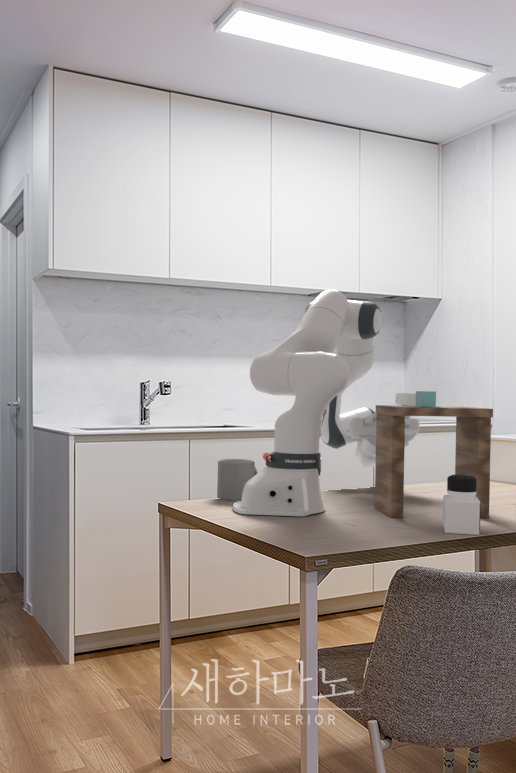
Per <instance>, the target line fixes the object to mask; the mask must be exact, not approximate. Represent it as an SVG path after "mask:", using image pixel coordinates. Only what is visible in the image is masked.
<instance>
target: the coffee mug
mask: <svg viewBox="0 0 516 773" xmlns="http://www.w3.org/2000/svg"><path fill="white" fill-rule="evenodd" d="M258 473H259V472H258V469H257V467H256V466H255V460H254V459H248V458H247V459H246V458H221V459H218V460H217V488H216V489H217V490H216V491H217V492H216V493H217V495H216V496H217V499H219V500H223V501H235V502H238V501H241V499H242V493H243V489H244V486H245V484H246V482H247V481H248V480H250V479H251V478H252V477H254V476H255V475H256V474H258Z"/></svg>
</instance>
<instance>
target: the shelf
mask: <svg viewBox="0 0 516 773" xmlns="http://www.w3.org/2000/svg"><path fill="white" fill-rule="evenodd" d="M375 413H376V414H377V417H376V465H375V466H374V467H375V470H374V471H375V476H374V477H375V478H374V479H375V480H374V508H375V509H377V510H378V511H379V512H380V513H382V514H384V515H386V517H388V518H391V519H404V496H405V495H404V494H405V492H404V490H405V489H404V488H405V486H404V485H405V448H406V447H405V416H409V417H446V418H447V417H452V418H453V417H454V418H456V419H455V458H454V459H455V465H454V466H455V468H454V475H470V476H473V477H475V478H476V479H477V488H476V495H475V496H476V497H477V498H478V499H479V501H480V503H481V506H480V519H490V498H491V497H490V489H491V488H490V487H491V486H490V485H491V447H492V446H491V445H492V444H491V442H492V441H491V438H492V437H491V436H492V432H491V431H492V418H494V408H488V407H485V408H484V407H471V406H441V405H440V406H438V405H436V407H422V406H410V405H389V404H388V405H382V404H381V405H379V404H377V405H375Z"/></svg>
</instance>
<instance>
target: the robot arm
mask: <svg viewBox="0 0 516 773" xmlns="http://www.w3.org/2000/svg"><path fill="white" fill-rule="evenodd" d="M382 319H383V318H382V311H381V309H380V307H379V306H378V304H377V303H375V302H372V301H368V300H365V301H361V300H354V299H353V300H351V299H348V298H347V296H346V295H345V294H344V293H343V292H340V291H338V290H335V289H327V290H324V291H322V292H320V293H319V295H317V296H316V297H315V298H314V300H313V301H311V302H310V303H308V304H307V305H306V308H305V311H304V315H303V316H302V319H301V320H300V321H299V324H298V325H297V326H296V328H295V330H294V331H293V332H292V333H291V334H290V335H289V336H288V337H286V338H285V339H284V340H283V341H282V342H281V343H279V344H278V345H277V346H275V347H273V348H272V349H269V350H268V351H266V352H263V353H260V354H258V355H257V356H255V358H254V359H253V360H252V362H251V365H250V367H249V368H250V369H249V379H250V382H251V384H252V386H253V388H254V389H255V390H256V391H257V392H261V393H265V394H268V395H272V396H287V397H288V396H292V397H294V396H295V400H294V401H293V402H294V403H293V405H292V407H291V408H290V409H289V410H287V411H285V412H283V413H282V414H280V415H279V416H278V417H277V419H276V420H275V424H274V442H273V443H274V444H273V445H274V448H273V449H274V450H273V451H272V452H270V453H269V452H268V451H267V452H263V453H262V459H263V460H264V461H265V466H266V467H264V468H263V469H262V470H260V471H259V472H258V474H256V475H255V476H254V477H252V478H251V479H250V480H248V481H247V482H246V484H245V486H244V489H243V493H242V499H241V501H235V502H233V504H232V510H233V512H235V513H236V514H237V513H238V514H241V515H254V516H255V515H256V516H257V515H259V516H279V517H280V516H283V517H286V516H287V517H307V516H309V515H314V514H319V513H323V512H325V507H324V502H323V498H322V492H321V481H320V479H321V478H320V476H321V472H322V457H321V452H320V437H321V440H322V442H323V443H324V445H326V446H328V447H330V448H333V449H336V450H337V449H338V450H339V448H342V447H345V446H346V445H349V444H352V443H356V449H355V453H354V459H355V460H356V461H355V462H357V464H358V465H359V466H362V467H364V468H373V467H376V417H377V413H376V411H374V410H373V409H371V408H369V407H366V406H364V407H360V408H357V409H353V410H351V411H347V412H344V413H341V405H342V396H343V394H344V392H345V391H346V390H347V388H349V387H350V386H351V385H353V383H355V382H356V381H358V380H360V379H362V378H363V377H364V376H366V374H368V373H369V372H370V370H371V369H372V367H373V365H374V360H375V350H374V349H375V348H374V338H375V337H376V336H377V335H378V334H379V333H380V330H381V326H382V321H383V320H382ZM335 349H336V353H334V351H335ZM420 430H421V426H420V421H419V420H418V419H417V418H413V417H412V418H411V417H410V416H405V447H404V448H406V447H408V446H409V444H410V441H412V440H414V439H415V438H416V436H417V435H418V434H419V433H420Z"/></svg>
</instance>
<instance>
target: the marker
mask: <svg viewBox="0 0 516 773" xmlns="http://www.w3.org/2000/svg"><path fill="white" fill-rule="evenodd" d="M395 405H397V406H402V405H410V406H422V407H436V406H437V391H430V390H429V391H426V390H425V391H424V390H422V391H421V390H419V391H418V390H415V393H409V392H407V393H406V392H396V394H395Z"/></svg>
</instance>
